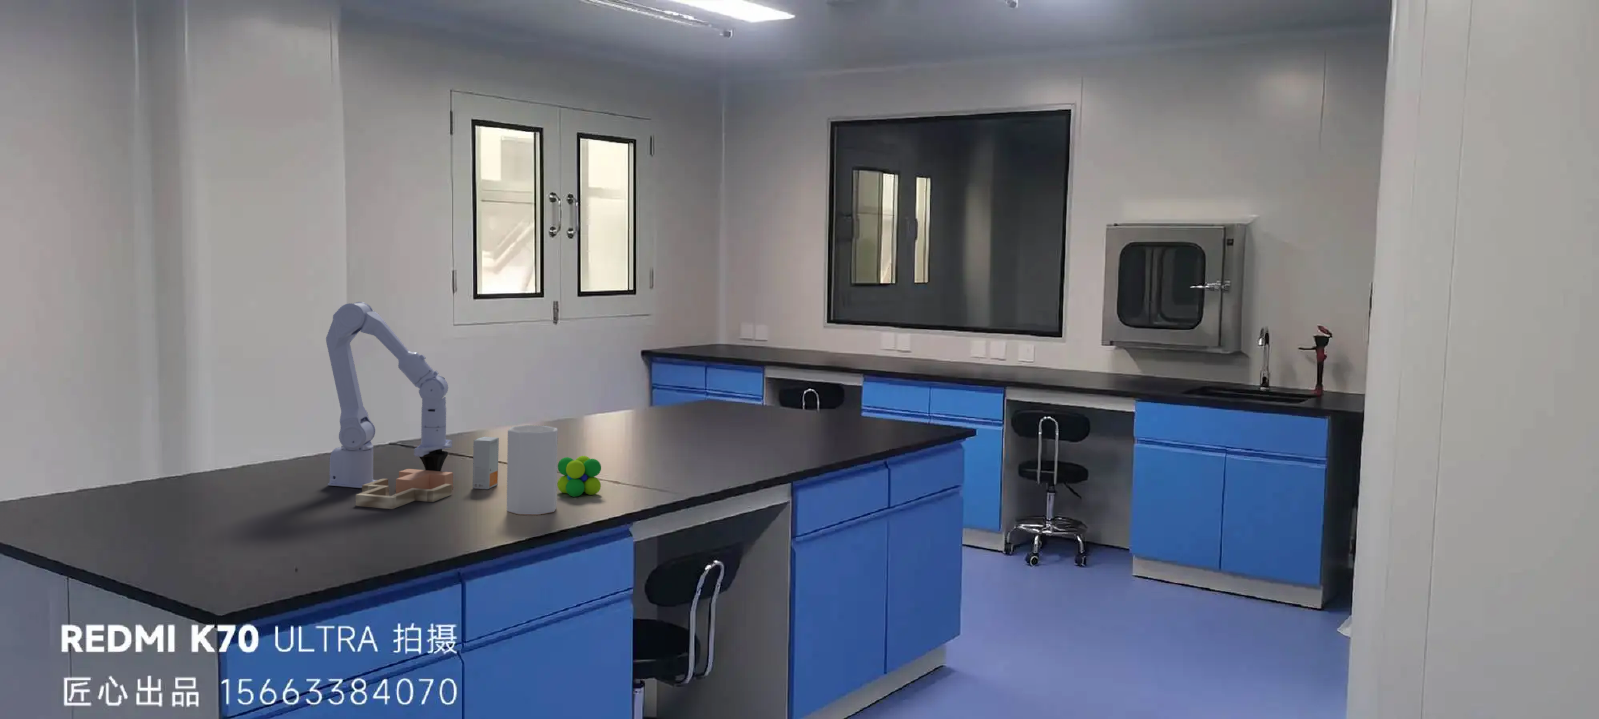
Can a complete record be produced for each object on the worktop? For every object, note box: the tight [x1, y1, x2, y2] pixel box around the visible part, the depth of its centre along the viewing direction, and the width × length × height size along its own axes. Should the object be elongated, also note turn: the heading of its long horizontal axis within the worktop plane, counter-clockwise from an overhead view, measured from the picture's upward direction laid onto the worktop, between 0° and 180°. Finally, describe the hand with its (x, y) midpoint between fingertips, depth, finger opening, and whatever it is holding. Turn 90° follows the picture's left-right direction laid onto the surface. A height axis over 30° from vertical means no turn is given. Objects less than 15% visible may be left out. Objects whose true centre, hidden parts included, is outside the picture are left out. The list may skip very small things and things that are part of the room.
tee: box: [395, 468, 454, 494], centre depth 272 cm, size 12×12×4 cm
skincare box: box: [472, 436, 500, 490], centre depth 279 cm, size 6×4×12 cm
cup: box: [506, 424, 559, 516], centre depth 256 cm, size 11×11×18 cm
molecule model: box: [557, 455, 602, 498], centre depth 276 cm, size 9×9×9 cm
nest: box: [355, 478, 453, 510], centre depth 263 cm, size 18×18×2 cm
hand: (433, 481), depth 279 cm, fingers closed
